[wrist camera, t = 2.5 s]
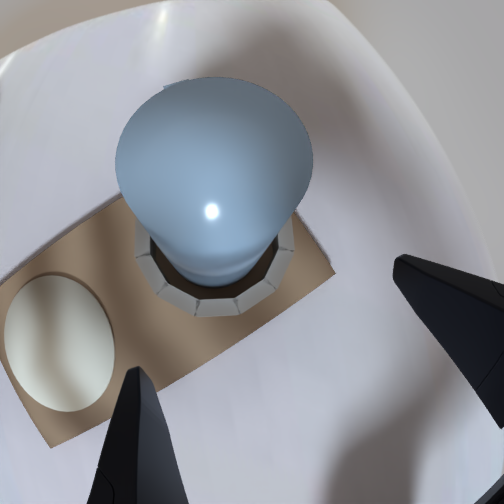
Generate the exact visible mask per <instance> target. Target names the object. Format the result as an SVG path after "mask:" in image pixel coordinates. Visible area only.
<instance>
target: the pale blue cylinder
mask: <svg viewBox="0 0 504 504" xmlns="http://www.w3.org/2000/svg"><path fill="white" fill-rule="evenodd" d="M163 87H164V90H162V91H161V92H159V93H157V94H156V95H154V96H153V97H151V98H150V99H149V100H147V101H146V102H145V103H144V104H143V105H142V106H141V107H140V108H139V109H138V110H137V111H136V112H135V113H134V115H133V116H132V117H131V118H130V120H129V121H128V123H127V125H126V126H125V128H124V130H123V132H122V134H121V137H120V140H119V143H118V146H117V151H116V158H115V170H116V176H117V182H118V185H119V188H120V191H121V193H122V195H123V197H124V199H125V201H126V203H127V204H128V206H129V207H130V208H131V210H132V211H133V213H134V214H135V215H136V217H137V218H138V220H139V221H140V222H141V224H142V225H143V227H144V228H145V229H146V231H147V232H148V233H149V235H150V236H151V238H152V239H153V240H154V242H155V243H156V244H157V246H158V247H159V248H160V250H161V251H162V252H163V254H164V255H165V256H166V258H167V259H168V260H169V262H170V263H171V264H172V266H173V267H174V268H175V269H176V271H177V272H178V273H179V274H180V275H181V276H182V277H183V278H184V279H186V280H187V281H188V282H190V283H192V284H194V285H197V286H199V287H203V288H210V289H218V288H224V287H228V286H231V285H233V284H235V283H237V282H239V281H240V280H242V279H243V278H244V277H245V276H247V275H248V273H249V272H250V271H251V270H252V269H253V267H254V266H255V264H256V263H257V262H258V260H259V259H260V257H261V256H262V255H263V253H264V252H265V251H266V249H267V248H268V246H269V245H270V244H271V242H272V241H273V239H274V238H275V237H276V235H277V234H278V233H279V231H280V230H281V228H282V227H283V226H284V224H285V223H286V221H287V220H288V219H289V217H290V216H291V214H292V213H293V212H294V210H295V209H296V207H297V206H298V204H299V203H300V201H301V200H302V199H303V197H304V195H305V193H306V190H307V188H308V186H309V182H310V179H311V175H312V168H313V153H312V147H311V142H310V139H309V136H308V133H307V131H306V129H305V127H304V125H303V123H302V122H301V120H300V119H299V117H298V116H297V114H296V113H295V112H294V111H293V110H292V109H291V107H290V106H289V105H287V104H286V103H285V102H284V101H283V100H282V99H280V98H279V97H278V96H276V95H275V94H273V93H272V92H270V91H268V90H266V89H264V88H262V87H260V86H258V85H255V84H253V83H250V82H246V81H243V80H238V79H233V78H224V77H207V78H198V79H193V80H188V79H187V80H184V81H180V82H176V83H173V84H169V85H166V86H163Z"/></svg>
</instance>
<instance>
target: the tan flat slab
mask: <svg viewBox="0 0 504 504" xmlns="http://www.w3.org/2000/svg"><path fill="white" fill-rule="evenodd" d="M335 274H336V273H335V271H334V270H333V268H332V267H331V265H330V264H329V262H328V261H327V259H326V258H325V256H324V255H323V254H322V252H321V251H320V249H319V248H318V246H317V245H316V243H315V242H314V240H313V239H312V237H311V236H310V234H309V233H308V232H307V230H306V229H305V227H304V226H303V224H302V223H301V222H300V220H299V219H298V217H297V216H296V214H295V213H294V212H293V213H292V214H291V216H290V217H289V219H288V220H287V221H286V223H285V224H284V226H283V227H282V228H281V230H280V231H279V233H278V234H277V235H276V237H275V238H274V239H273V241H272V242H271V244H270V245H269V246H268V248H267V249H266V251H265V252H264V253H263V255H262V256H261V257H260V259H259V260H258V262H257V263H256V264H255V266H254V267H253V269H252V270H251V271H250V272H249V273H248V275H247V276H245V277H244V278H243V279H242V280H240V281H239V282H237V283H235V284H233V285H231V286H228V287H224V288H218V289H210V288H203V287H199V286H197V285H194V284H192V283H190V282H188V281H187V280H186V279H184V278H183V277H182V276H181V275H180V274H179V273H178V272H177V271H176V269H175V268H174V267H173V266H172V264H171V263H170V262H169V260H168V259H167V258H166V256H165V255H164V254H163V252H162V251H161V250H160V248H159V247H158V246H157V244H156V243H155V242H154V240H153V239H152V238H151V236H150V235H149V233H148V232H147V231H146V229H145V228H144V227H143V225H142V224H141V222H140V221H139V220H138V218H137V217H136V215H135V214H134V213H133V211H132V210H131V208H130V207H129V206H128V204H127V203H126V201H125V199H124V197H121V198H120V199H118V200H117V201H115V202H113V203H112V204H110V205H109V206H107V207H106V208H104V209H103V210H101V211H100V212H98V213H97V214H95V215H94V216H92V217H91V218H89V219H88V220H86V221H85V222H83V223H82V224H80V225H79V226H77V227H76V228H75V229H73V230H72V231H70V232H69V233H68V234H66V235H65V236H63V237H62V238H61V239H59V240H58V241H56V242H55V243H54V244H52V245H51V246H50V247H48V248H47V249H46V250H44V251H43V252H42V253H40V254H39V255H38V256H37V257H35V258H34V259H33V260H31V261H30V262H29V263H28V264H26V265H25V266H24V267H23V268H21V269H20V270H19V271H18V272H17V273H15V274H14V275H13V276H12V277H10V278H9V279H8V280H7V281H6V282H5V283H3V284H2V285H1V286H0V360H1V362H2V365H3V367H4V369H5V371H6V373H7V375H8V377H9V379H10V381H11V383H12V385H13V387H14V389H15V391H16V393H17V395H18V397H19V398H20V400H21V402H22V404H23V406H24V407H25V409H26V411H27V412H28V414H29V416H30V418H31V419H32V421H33V422H34V424H35V426H36V427H37V429H38V430H39V432H40V433H41V435H42V437H43V438H44V440H45V441H46V442H47V444H48V445H49V447H50V448H53V447H55V446H57V445H59V444H61V443H63V442H65V441H67V440H69V439H72V438H74V437H76V436H78V435H79V434H81V433H83V432H85V431H87V430H89V429H91V428H93V427H95V426H97V425H99V424H101V423H103V422H105V421H106V420H108V419H110V418H111V417H112V414H113V411H114V408H115V405H116V401H117V398H118V395H119V392H120V389H121V386H122V383H123V380H124V377H125V374H126V372H127V370H128V369H130V368H133V367H136V366H140V367H141V368H142V369H143V370H144V371H145V373H146V374H147V375H148V376H149V378H150V379H151V380H152V382H153V384H154V387H155V390H156V393H157V392H158V391H160V390H162V389H163V388H165V387H167V386H169V385H170V384H172V383H174V382H175V381H177V380H179V379H180V378H182V377H184V376H185V375H187V374H188V373H190V372H192V371H193V370H195V369H197V368H198V367H200V366H201V365H203V364H205V363H206V362H208V361H209V360H211V359H213V358H214V357H216V356H217V355H219V354H220V353H222V352H224V351H225V350H227V349H228V348H230V347H231V346H233V345H234V344H236V343H237V342H239V341H240V340H242V339H244V338H245V337H247V336H248V335H250V334H251V333H253V332H254V331H256V330H257V329H258V328H260V327H261V326H263V325H264V324H266V323H267V322H269V321H270V320H272V319H273V318H275V317H276V316H278V315H279V314H280V313H282V312H283V311H285V310H286V309H288V308H289V307H290V306H292V305H293V304H295V303H296V302H297V301H299V300H300V299H302V298H303V297H304V296H306V295H307V294H309V293H310V292H311V291H313V290H314V289H316V288H317V287H318V286H320V285H321V284H322V283H324V282H325V281H326V280H328V279H329V278H331V277H332V276H333V275H335Z"/></svg>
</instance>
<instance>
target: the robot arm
mask: <svg viewBox="0 0 504 504" xmlns="http://www.w3.org/2000/svg"><path fill="white" fill-rule="evenodd" d="M393 280H394V282H395V284H396V285H397V286H398V288H399V289H400V291H401V292H402V294H403V295H404V297H405V298H406V300H407V301H408V303H409V304H410V306H411V307H412V309H413V310H414V311H415V313H416V314H417V315H418V317H419V318H420V319H421V320H422V322H423V323H424V324H425V325H426V327H427V328H428V329H429V330H430V332H431V333H432V334H433V335H434V337H435V338H436V339H437V341H438V342H439V343H440V344H441V346H442V347H443V348H444V350H445V351H446V352H447V353H448V355H449V356H450V357H451V359H452V360H453V361H454V363H455V364H456V365H457V367H458V368H459V370H460V371H461V372H462V374H463V375H464V376H465V378H466V379H467V381H468V382H469V383H470V385H471V386H472V388H473V389H474V390H475V392H476V394H477V395H478V396H479V398H480V399H481V401H482V402H483V404H484V405H485V407H486V408H487V410H488V411H489V413H490V414H491V416H492V417H493V419H494V420H495V422H496V423H497V425H498V426H499V428H500V429H502V428H503V427H504V284H501V283H498V282H495V281H492V280H491V281H490V280H489V279H485V278H482V277H479V276H476V275H473V274H470V273H467V272H464V271H460V270H457V269H454V268H451V267H448V266H444V265H441V264H438V263H434V262H431V261H428V260H424V259H421V258H418V257H414V256H411V255H407V254H403V255H401V256H399V257H397V258H396V259H395V261H394V268H393ZM87 504H189V503H188V499H187V496H186V493H185V490H184V486H183V483H182V479H181V476H180V472H179V469H178V465H177V461H176V458H175V454H174V450H173V446H172V442H171V438H170V433H169V430H168V426H167V423H166V420H165V417H164V414H163V412H162V409H161V406H160V403H159V400H158V397H157V393H156V390H155V387H154V384H153V382H152V380H151V379H150V378H149V376H148V375H147V374H146V373H145V371H144V370H143V369H142V368H141V367H140V366H136V367H133V368H130V369H128V370H127V372H126V374H125V377H124V380H123V383H122V386H121V389H120V392H119V395H118V398H117V401H116V405H115V408H114V411H113V414H112V417H111V421H110V424H109V427H108V431H107V434H106V437H105V441H104V444H103V448H102V451H101V455H100V459H99V462H98V468H97V470H96V474H95V477H94V481H93V485H92V488H91V492H90V495H89V498H88V501H87ZM474 504H504V474H503V475H502V476H501V477H500V479H499V480H498V481H497V482H496V483H495V484H494V485H493V486H492V487H491V488H490V489H489V490H488V491H487V492H486V493H485V494H484V495H483V496H482V497H481V498H480V499H479V500H478V501H476V502H475V503H474Z"/></svg>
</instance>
